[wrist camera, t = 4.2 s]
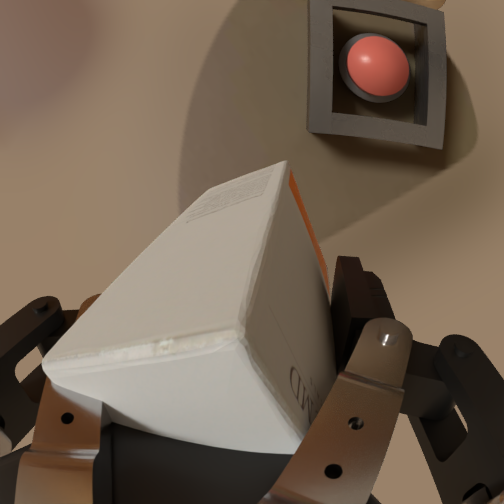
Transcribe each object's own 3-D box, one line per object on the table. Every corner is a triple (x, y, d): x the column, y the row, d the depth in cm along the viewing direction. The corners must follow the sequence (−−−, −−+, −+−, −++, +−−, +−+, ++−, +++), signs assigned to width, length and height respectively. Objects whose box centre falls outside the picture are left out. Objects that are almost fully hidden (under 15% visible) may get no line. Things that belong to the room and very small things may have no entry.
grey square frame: (424, 23, 17) (443, 12, 14) (422, 142, 22) (442, 149, 19) (307, 3, 19) (309, -14, 15) (306, 129, 23) (308, 132, 20)
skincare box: (330, 267, 16) (349, 508, 5) (253, 289, 17) (194, 510, 6) (289, 153, 14) (246, 335, 3) (205, 185, 15) (28, 366, 4)
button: (408, 41, 17) (414, 38, 16) (407, 107, 20) (414, 108, 19) (338, 29, 18) (340, 25, 17) (337, 97, 21) (340, 97, 19)
